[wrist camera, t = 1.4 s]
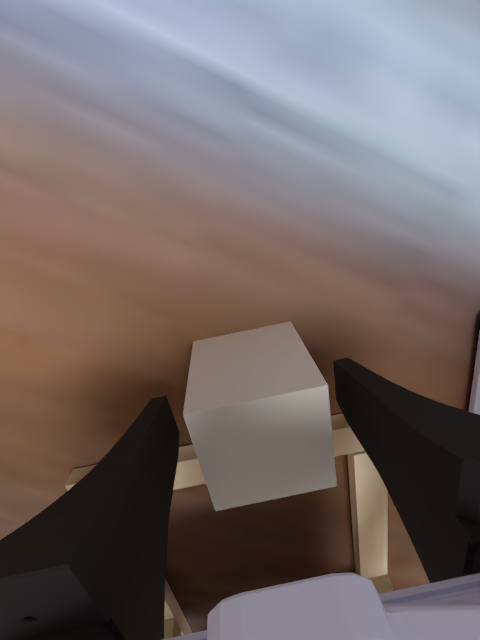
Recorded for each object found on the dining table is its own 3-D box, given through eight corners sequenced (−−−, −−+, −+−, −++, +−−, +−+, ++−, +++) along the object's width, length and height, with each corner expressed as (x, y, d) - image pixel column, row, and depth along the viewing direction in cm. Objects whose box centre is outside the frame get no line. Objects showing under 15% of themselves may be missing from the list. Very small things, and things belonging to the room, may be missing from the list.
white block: (290, 320, 14) (327, 384, 9) (301, 399, 16) (336, 486, 11) (193, 340, 14) (182, 414, 9) (215, 417, 16) (215, 511, 11)
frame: (377, 405, 16) (492, 556, 9) (380, 607, 24) (443, 765, 17) (73, 468, 16) (-25, 661, 10) (176, 649, 24) (162, 822, 18)
